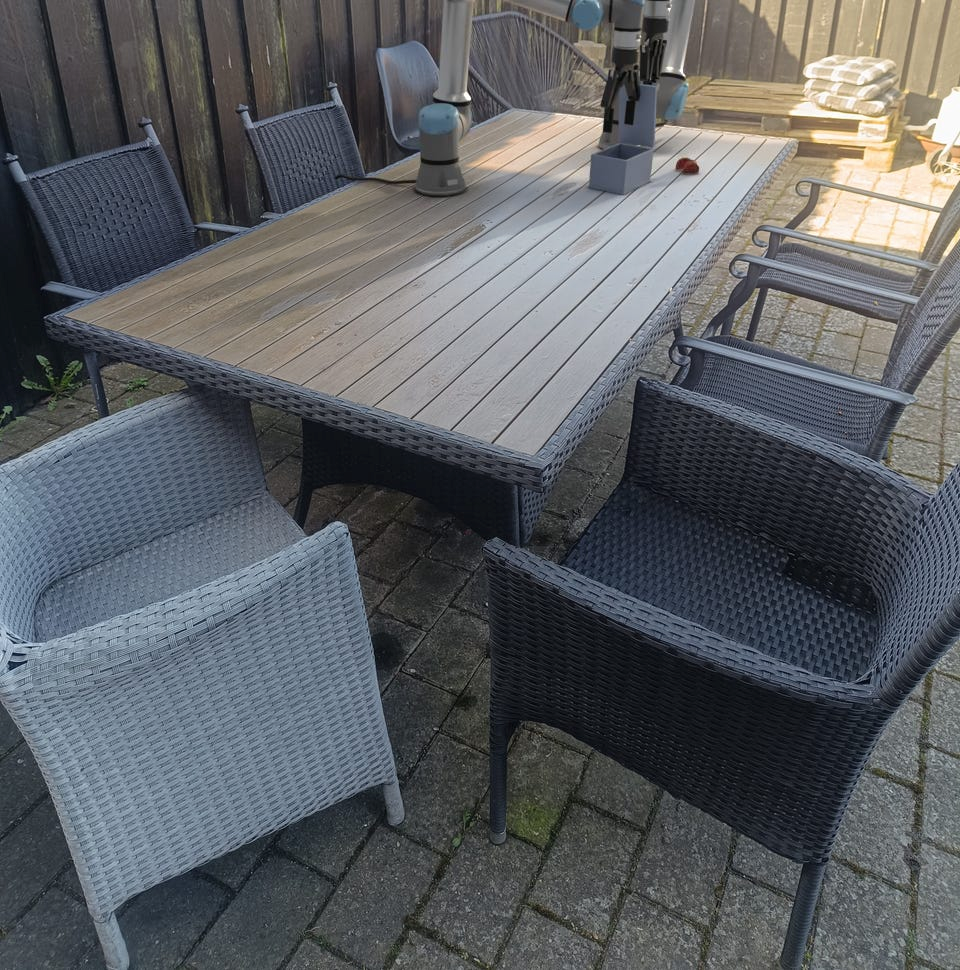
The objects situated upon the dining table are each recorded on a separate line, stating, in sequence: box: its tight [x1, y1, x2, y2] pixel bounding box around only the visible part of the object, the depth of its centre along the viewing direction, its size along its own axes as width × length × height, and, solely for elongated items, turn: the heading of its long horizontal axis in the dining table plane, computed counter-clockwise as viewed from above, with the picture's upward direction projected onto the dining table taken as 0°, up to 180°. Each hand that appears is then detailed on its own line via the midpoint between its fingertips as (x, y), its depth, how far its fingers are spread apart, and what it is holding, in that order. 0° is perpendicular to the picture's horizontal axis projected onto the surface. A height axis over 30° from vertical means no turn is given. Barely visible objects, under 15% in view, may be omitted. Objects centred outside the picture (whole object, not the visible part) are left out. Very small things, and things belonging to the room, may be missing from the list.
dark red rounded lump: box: [675, 156, 700, 175], centre depth 273 cm, size 6×4×8 cm
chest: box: [588, 143, 655, 195], centre depth 260 cm, size 17×12×10 cm
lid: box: [619, 81, 660, 149], centre depth 258 cm, size 18×12×9 cm
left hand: (618, 128), depth 250 cm, fingers open, 12 cm apart
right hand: (647, 103), depth 259 cm, fingers closed on lid, 2 cm apart
